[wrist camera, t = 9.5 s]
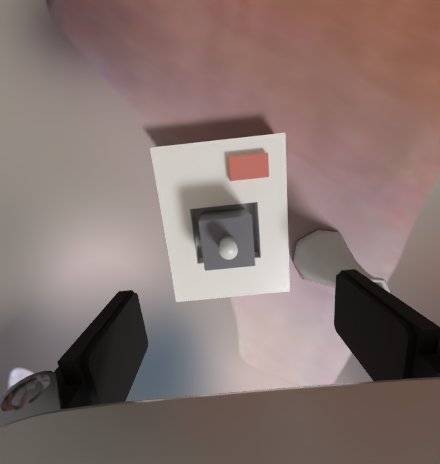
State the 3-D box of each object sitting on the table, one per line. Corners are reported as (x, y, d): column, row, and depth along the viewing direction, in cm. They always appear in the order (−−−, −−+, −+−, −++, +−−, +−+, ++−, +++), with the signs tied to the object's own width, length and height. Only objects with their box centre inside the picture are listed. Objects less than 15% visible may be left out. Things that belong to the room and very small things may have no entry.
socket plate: (157, 151, 25) (147, 146, 21) (277, 138, 25) (287, 131, 21) (180, 289, 29) (175, 305, 26) (282, 280, 29) (291, 294, 25)
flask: (344, 223, 27) (414, 248, 18) (349, 274, 29) (414, 322, 19) (288, 235, 28) (326, 265, 18) (295, 285, 29) (333, 337, 20)
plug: (203, 211, 26) (196, 225, 18) (244, 207, 26) (255, 219, 18) (207, 250, 27) (203, 280, 19) (247, 246, 27) (258, 274, 19)
